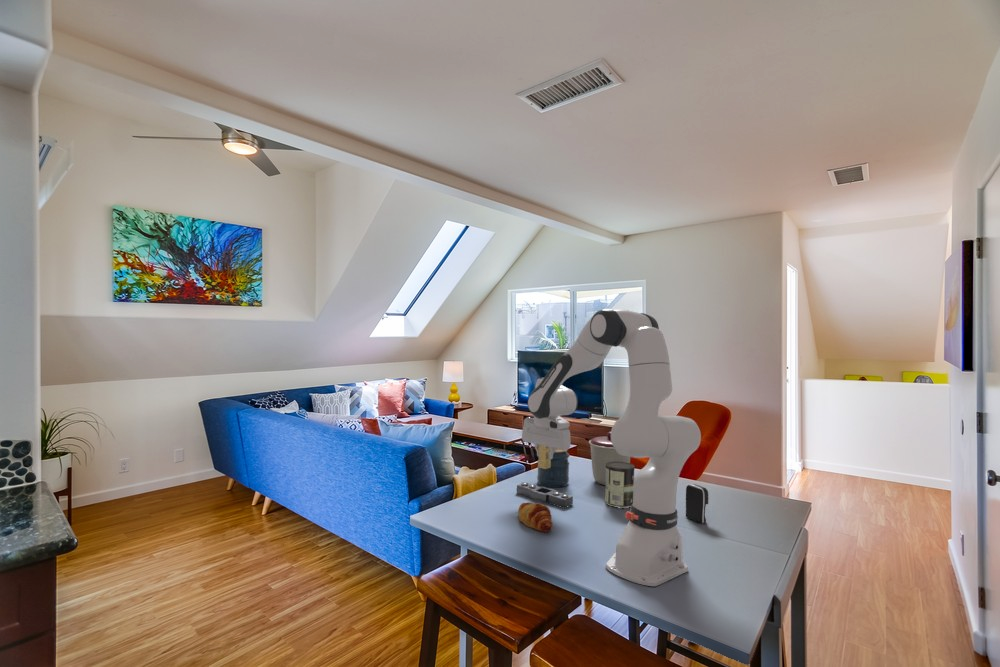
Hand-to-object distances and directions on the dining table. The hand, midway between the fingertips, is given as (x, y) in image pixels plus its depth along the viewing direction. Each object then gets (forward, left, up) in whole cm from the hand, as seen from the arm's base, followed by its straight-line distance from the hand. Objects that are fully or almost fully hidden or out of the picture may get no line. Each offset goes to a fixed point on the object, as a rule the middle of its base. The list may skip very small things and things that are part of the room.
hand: (544, 457), depth 176 cm
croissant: (-20, -12, -16) cm, 28 cm away
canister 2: (+36, -7, -15) cm, 40 cm away
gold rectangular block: (0, 0, -4) cm, 4 cm away
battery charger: (+21, -48, -15) cm, 55 cm away
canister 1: (+18, +9, -15) cm, 25 cm away
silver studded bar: (0, 0, -15) cm, 15 cm away
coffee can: (+16, -22, -15) cm, 31 cm away
